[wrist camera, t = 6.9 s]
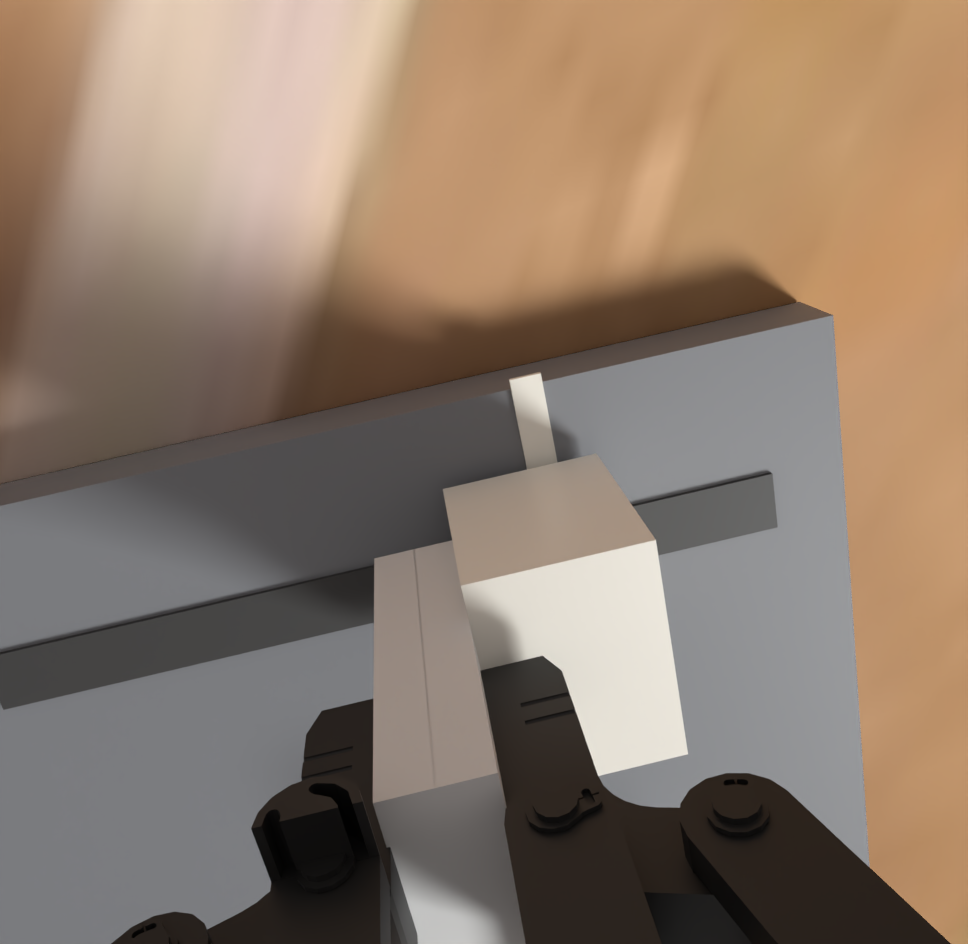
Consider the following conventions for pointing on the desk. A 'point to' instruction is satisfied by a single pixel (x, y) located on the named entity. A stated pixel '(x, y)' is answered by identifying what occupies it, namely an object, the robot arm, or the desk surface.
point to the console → (350, 604)
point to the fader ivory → (573, 600)
